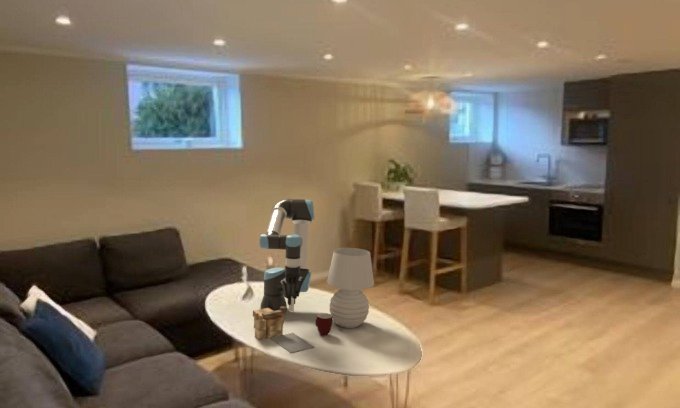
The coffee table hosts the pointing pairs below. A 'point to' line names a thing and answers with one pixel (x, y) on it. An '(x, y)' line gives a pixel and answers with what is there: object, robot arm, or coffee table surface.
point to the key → (274, 313)
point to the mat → (292, 342)
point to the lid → (270, 321)
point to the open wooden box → (265, 328)
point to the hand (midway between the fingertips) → (291, 310)
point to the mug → (324, 323)
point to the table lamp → (350, 286)
